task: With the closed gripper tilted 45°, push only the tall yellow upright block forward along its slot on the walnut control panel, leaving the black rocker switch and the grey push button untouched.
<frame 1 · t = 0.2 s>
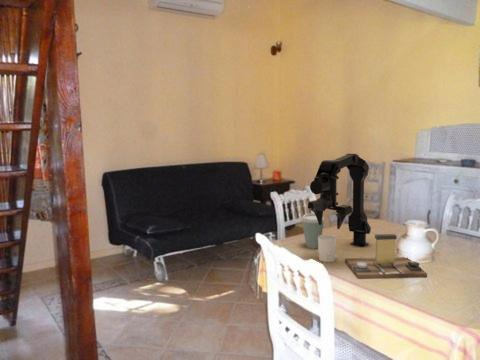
hand: (329, 227, 169), 14 cm above the table, tool pointing down, fingers open, 9 cm apart
control panel: (383, 269, 159), on the table
disposable coffee cup: (312, 246, 189), on the table
yellow upright block: (385, 250, 156), point 8 cm above the table, slide at 0.0 cm
grey push button: (361, 265, 154), point 3 cm above the table, slide at 0.0 cm
white cup: (327, 260, 171), on the table
black rocker switch: (413, 263, 154), point 3 cm above the table, hinge at -10.0°
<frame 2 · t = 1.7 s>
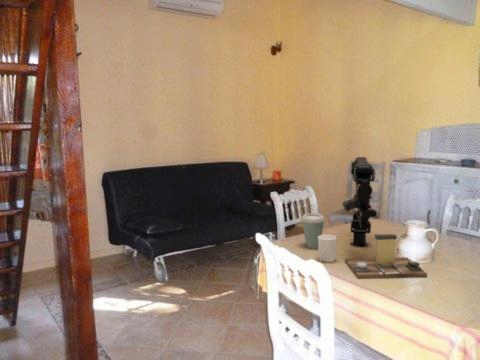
hand: (362, 228, 174), 12 cm above the table, tool pointing down, fingers closed
nothing on the table moved.
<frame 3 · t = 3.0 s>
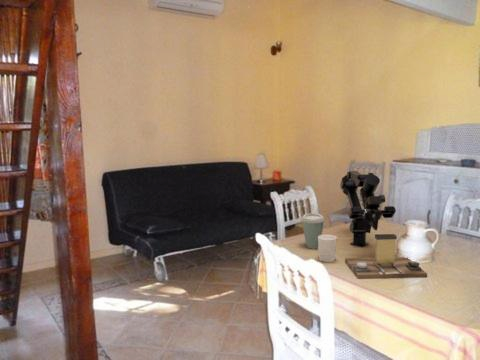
hand: (376, 229, 166), 13 cm above the table, tool tilted 45°, fingers closed
nothing on the table moved.
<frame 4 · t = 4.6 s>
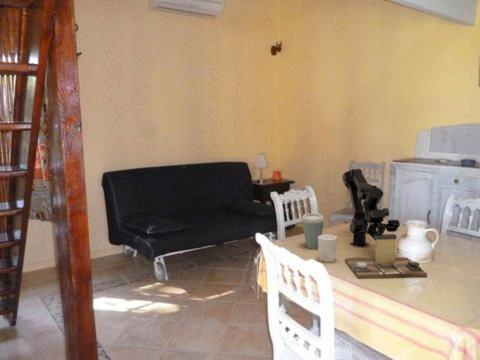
hand: (379, 244, 162), 9 cm above the table, tool tilted 45°, fingers closed
nothing on the table moved.
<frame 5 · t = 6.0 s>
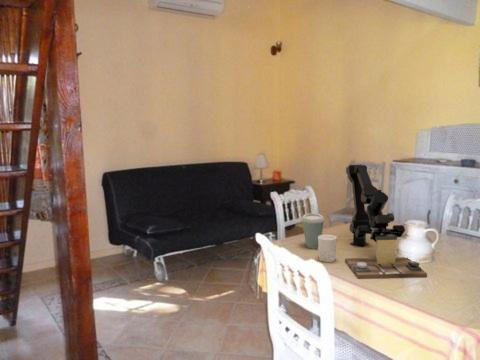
hand: (384, 250, 157), 8 cm above the table, tool tilted 45°, fingers closed, pressing on yellow upright block
yellow upright block: (385, 251, 156), point 8 cm above the table, slide at 0.6 cm, touching gripper
everything else where it was.
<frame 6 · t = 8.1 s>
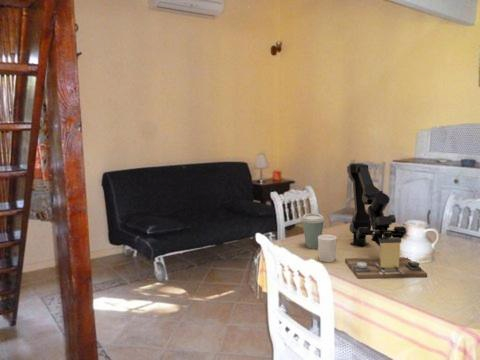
hand: (385, 252, 156), 8 cm above the table, tool tilted 45°, fingers closed
yellow upright block: (389, 254, 152), point 8 cm above the table, slide at 4.3 cm, touching control panel
everything else where it was.
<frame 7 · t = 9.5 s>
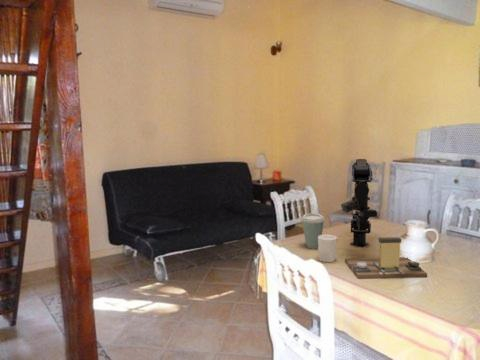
hand: (360, 230, 174), 11 cm above the table, tool pointing down, fingers closed
nothing on the table moved.
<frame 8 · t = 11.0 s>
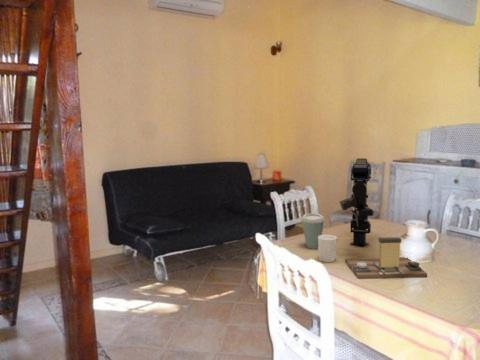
hand: (359, 227, 176), 12 cm above the table, tool pointing down, fingers closed
nothing on the table moved.
at the end: yellow upright block slide at 4.3 cm; grey push button slide at 0.0 cm; black rocker switch at -10° (first picture: -10°) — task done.
